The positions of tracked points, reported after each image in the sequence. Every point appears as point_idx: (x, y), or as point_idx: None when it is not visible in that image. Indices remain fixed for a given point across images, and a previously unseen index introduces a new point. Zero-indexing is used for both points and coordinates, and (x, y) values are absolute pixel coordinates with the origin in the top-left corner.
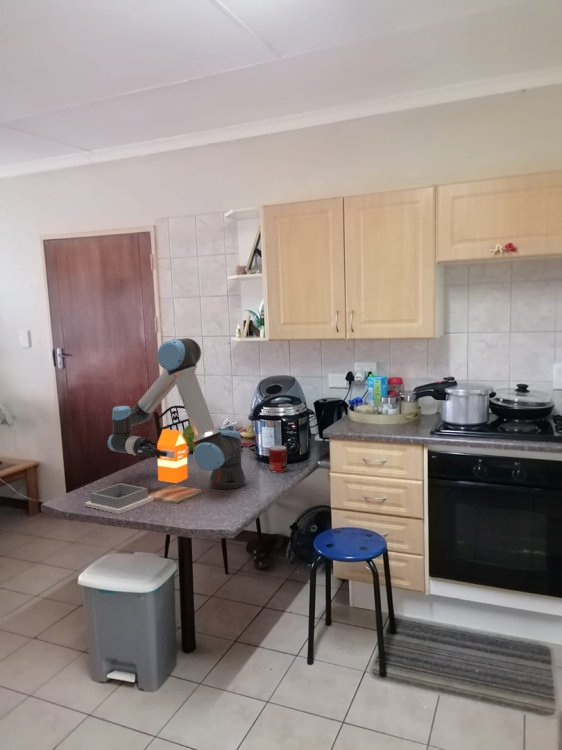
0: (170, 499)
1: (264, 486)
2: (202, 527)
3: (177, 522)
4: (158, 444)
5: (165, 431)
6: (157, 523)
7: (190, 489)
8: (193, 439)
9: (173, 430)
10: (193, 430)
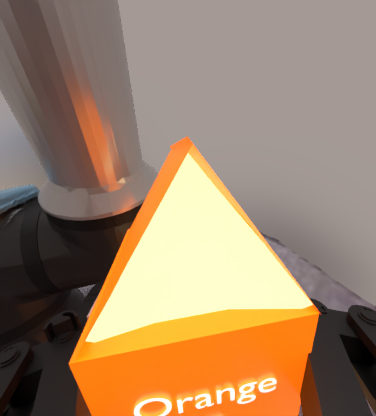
0: None
1: None
2: (270, 243)
3: (296, 269)
4: (305, 297)
5: (197, 165)
6: (337, 286)
7: None
8: (136, 195)
9: (174, 147)
10: (127, 153)
